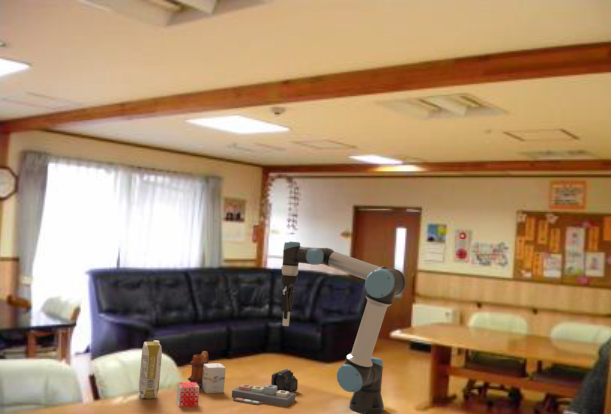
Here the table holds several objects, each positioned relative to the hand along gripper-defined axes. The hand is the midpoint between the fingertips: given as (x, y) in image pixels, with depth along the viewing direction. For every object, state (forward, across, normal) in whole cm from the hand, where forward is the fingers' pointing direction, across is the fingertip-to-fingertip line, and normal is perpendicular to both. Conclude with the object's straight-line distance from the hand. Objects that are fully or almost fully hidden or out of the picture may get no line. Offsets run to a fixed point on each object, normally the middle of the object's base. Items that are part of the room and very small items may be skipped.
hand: (285, 325), depth 279 cm
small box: (+33, +33, -30) cm, 55 cm away
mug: (+33, +3, -40) cm, 52 cm away
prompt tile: (+32, +17, -9) cm, 38 cm away
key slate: (+30, +8, -2) cm, 31 cm away
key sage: (+32, +8, -8) cm, 34 cm away
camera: (+33, -11, -2) cm, 35 cm away
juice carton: (+33, +33, -49) cm, 67 cm away
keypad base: (+32, +8, -5) cm, 34 cm away
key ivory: (+32, +8, +4) cm, 33 cm away
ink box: (+33, +9, -30) cm, 45 cm away
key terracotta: (+32, +8, -14) cm, 36 cm away
